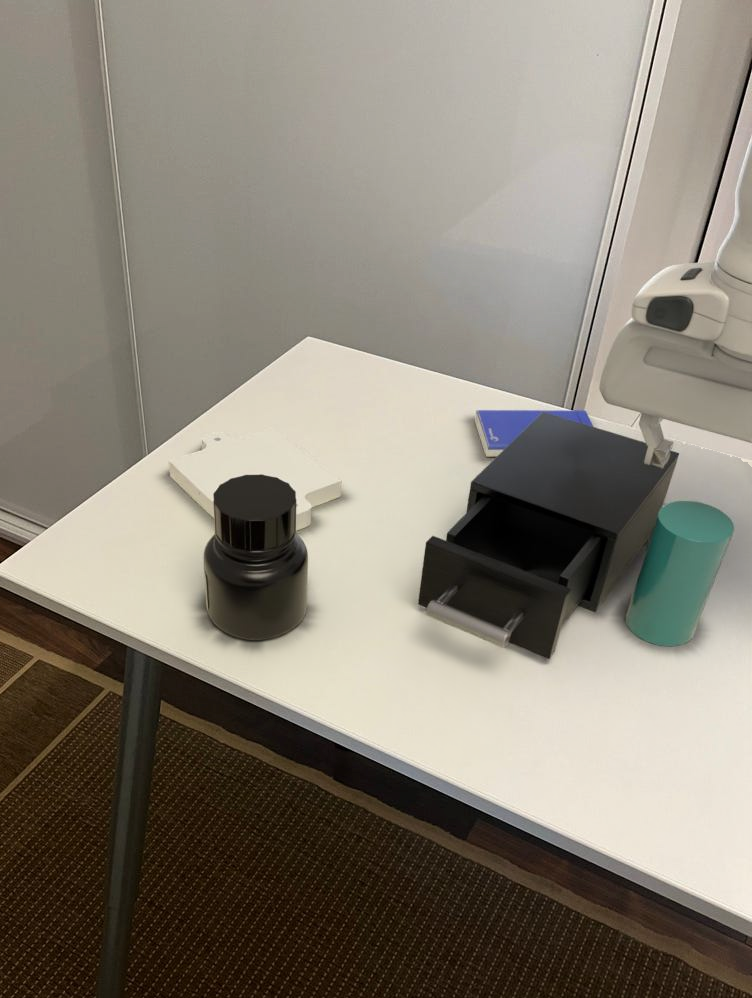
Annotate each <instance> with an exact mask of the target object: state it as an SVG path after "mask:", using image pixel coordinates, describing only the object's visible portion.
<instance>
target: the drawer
mask: <svg viewBox="0 0 752 998" xmlns="http://www.w3.org/2000/svg"><path fill="white" fill-rule="evenodd" d="M606 541H607V537H605V536H602V535H599V534H596V533H593V532H590V531H588V530H585V529H582V528H579V527H576V526H573V525H571V524H568V523H565V522H562V521H559V520H557V519H554V518H551V517H548V516H545V515H542V514H540V513H537V512H534V511H531V510H528V509H525V508H523V507H520V506H517V505H514V504H511V503H509V502H506V501H503V500H500V499H497V498H494V497H492V496H489V495H486V494H485V495H484V496H483V497H482V498H481V499H480V500H479V501H478V502H477V503H476V504H475V505H474V506H473V507H472V508H471V509H470V510H469V511H468V512H467V513H466V512H465V514H464V515H462V517H460V519H459V520H458V521H457V522H456V523H455V524H454V525H453V526H452V527H451V528H450V529H449V530H448V531H447V532H446V537H445V539H443V538H440V537H437V536H435V535H431V536H430V538H428V540H427V541H426V542H425V547H424V554H423V563H422V570H421V578H420V586H419V592H418V601H417V605H419V606H421V607H424V608H426V609H425V615H426V616H428V617H430V618H433V619H436V620H437V621H439V622H442V623H444V624H447V625H449V626H451V627H452V628H453V627H454V628H456V629H458V630H460V631H463V632H466V633H468V634H470V635H472V636H475V637H478V638H479V639H482V640H484V641H487V642H488V643H492V644H494V645H495V646H498V647H500V648H502V649H503V648H505V647H507V645H509V644H511V645H514V646H516V647H518V648H521V649H523V650H525V651H527V652H529V653H532V654H534V655H537V656H539V657H542V658H544V659H546V660H550V659H551V658H552V656H553V655H554V654H555V652H556V649H557V647H558V646H557V645H558V641H559V638H560V634H561V630H562V627H563V626H564V625H565V624H566V622H567V620H568V619H569V618H570V616H571V615H572V614H573V613H574V611H575V610H576V609H577V607H578V606H579V605H578V604H579V603H580V602H581V600H582V599H583V598H584V596H585V595H586V594H587V592H588V591H589V590H590V588H591V587H592V586H593V584H594V583H595V580H596V577H597V573H598V570H599V566H600V562H601V559H602V555H603V552H604V548H605V545H606Z"/></svg>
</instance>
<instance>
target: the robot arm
mask: <svg viewBox="0 0 752 998" xmlns="http://www.w3.org/2000/svg"><path fill="white" fill-rule="evenodd" d="M739 172H740V173H739V176H738V179H737V180H738V181H737V183H736V187H735V193H734V205H735V206H734V216H733V220H732V225H731V226H730V228H729V232H728V233H727V235H726V237H725V238H724V240H723V242H722V244H721V245H720V247H719V249H718V252H717V254H716V257H715V260H710V261H700V262H691V263H681V264H680V263H679V264H673V265H670V266H667V267H665V268H663V269H662V270H659V272H657V273H656V274H655V275H654V276H653V277H651V278H650V279H649V280H648V281H647V282H646V283H645V284H644V285H643V286H642V287H641V288H640V290H639V291H638V293H637V294H636V296H635V298H634V299H633V302H632V305H631V318H630V319H629V320H628V321H627V322H626V323H625V324H624V325H623V326H622V328H620V329H619V331H618V332H617V334H616V335H615V338H614V340H613V342H612V343H611V347H610V349H609V352H608V355H607V358H606V359H605V363H604V365H603V369H602V372H601V376H600V381H599V385H598V387H599V388H598V389H599V392H600V394H601V397H602V398H603V400H604V402H605V403H607V404H608V405H611V406H615V407H619V408H621V409H626V410H630V411H634V412H637V413H641V414H640V417H639V421H638V426H639V428H640V432H641V434H642V436H643V440H644V442H645V443H646V445H647V446H648V449H647V452H646V456H645V460H644V464H647V465H650V466H654V467H657V468H661V469H663V467H664V465H666V463H667V462H668V460H669V457H670V451H672V449H673V446H674V441H673V440H670V439H666V438H665V437H664V433H663V429H662V426H661V423H662V422H663V420H666V421H670V422H674V423H677V424H681V425H684V426H687V427H691V428H695V429H699V430H703V431H706V432H709V433H712V434H713V433H714V434H716V435H720V436H723V437H728V438H732V439H736V440H738V441H743V442H745V443H746V442H747V443H749V444H752V135H751V136H750V140H749V142H748V145H747V149H746V152H745V155H744V158H743V162H742V165H741V168H740V171H739Z"/></svg>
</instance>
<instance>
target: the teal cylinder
mask: <svg viewBox="0 0 752 998" xmlns="http://www.w3.org/2000/svg"><path fill="white" fill-rule="evenodd" d="M734 532H735V525H734V522H733V520H732V519H731V517H729V515H727V514H726V513H725V512H724V511H722V510H721V509H719V508H717V507H715V506H713V505H710V504H707V503H704V502H700V501H694V500H677V501H671V502H668V503H666V504H665V505H664V504H663V507H662V508H661V509H660V511H659V513H658V516H657V519H656V522H655V525H654V529H653V532H652V534H651V536H650V537H649V541H648V545H647V548H646V551H645V554H644V557H643V560H642V563H641V567H640V570H639V572H638V576H637V579H636V582H635V586H634V589H633V592H632V595H631V598H630V601H629V604H628V607H627V609H626V610H627V611H626V614H625V623H626V626H627V627H628V629H629V630H630V631H631V632H632V633H633V634H634V635H635V636H636V637H638V638H640V639H641V640H643V641H645V642H647V643H649V644H653V645H656V646H661V647H678V646H681V645H685V644H686V643H688V642H690V640H692V639H693V637H694V635H695V633H696V630H697V628H698V625H699V622H700V620H701V618H702V615H703V612H704V609H705V607H706V605H707V601H708V600H709V597H710V594H711V592H712V589H713V586H714V583H715V581H716V579H717V576H718V573H719V571H720V569H721V566H722V563H723V561H724V558H725V555H726V552H727V550H728V547H729V545H730V542H731V539H732V537H733V534H734Z"/></svg>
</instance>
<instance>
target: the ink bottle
mask: <svg viewBox="0 0 752 998" xmlns="http://www.w3.org/2000/svg"><path fill="white" fill-rule="evenodd" d="M213 497H214V501H213V506H214V518H213V523H214V526H213V527H214V534H213V535H212V536H211V537H210V539H209V540H208V541H207V543H206V545H205V547H204V550H203V575H204V590H205V591H204V592H205V607H206V611H207V615H208V617H209V619H210V620H211V622H212V623H213V624H214V625H215V626H216V627H217V628H218V629H219V630H220V631H223V632H224V633H226V634H228V635H231V636H233V637H236V638H239V639H242V640H248V641H261V640H268V639H269V640H270V639H272V638H276V637H280V636H281V635H284V634H285V633H288V632H289V631H291V630H293V629H294V628H296V627H297V626H298V625H299V624H300V623H301V621H302V620H303V619H304V617H305V615H306V613H307V606H308V580H309V579H308V578H309V577H308V575H309V572H308V571H309V552H308V548H307V545H306V544H305V542H304V540H303V539H302V537H300V535H299V534H297V531H296V492H295V490H293V488H292V487H291V486H290V484H289V483H286V482H284V481H282V480H280V479H279V478H277V477H271V476H266V475H262V474H260V475H244V476H240V477H236V478H231V479H230V480H228V481H226V482H225V483H223V484H220V485H219V487H218V489H217V490H216V491H215V492H214V494H213Z"/></svg>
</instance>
